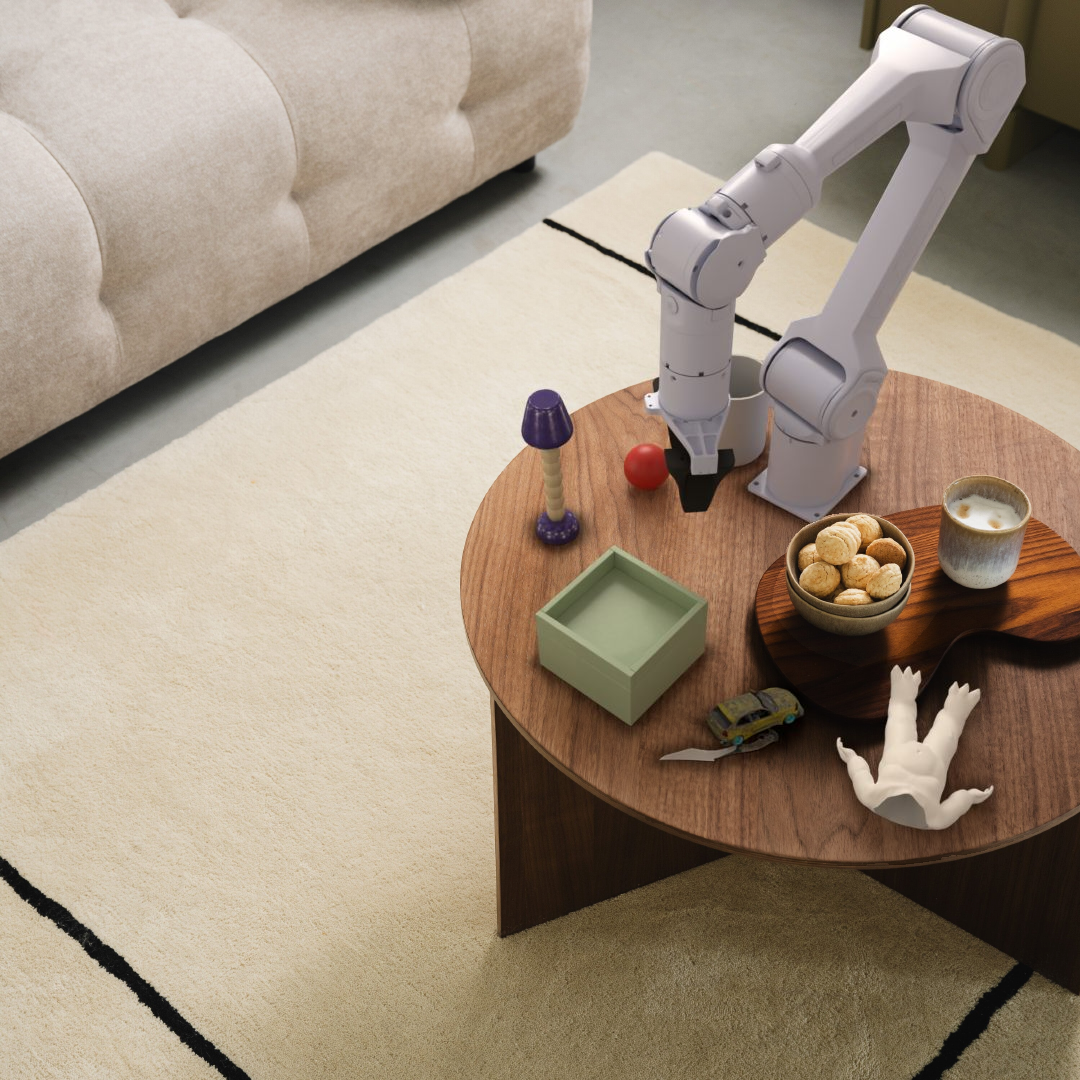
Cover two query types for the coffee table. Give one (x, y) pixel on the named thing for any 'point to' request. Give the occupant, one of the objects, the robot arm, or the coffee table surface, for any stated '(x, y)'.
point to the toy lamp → (550, 462)
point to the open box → (622, 633)
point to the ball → (646, 467)
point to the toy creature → (916, 760)
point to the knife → (710, 755)
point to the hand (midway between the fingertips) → (689, 479)
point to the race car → (752, 714)
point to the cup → (745, 411)
